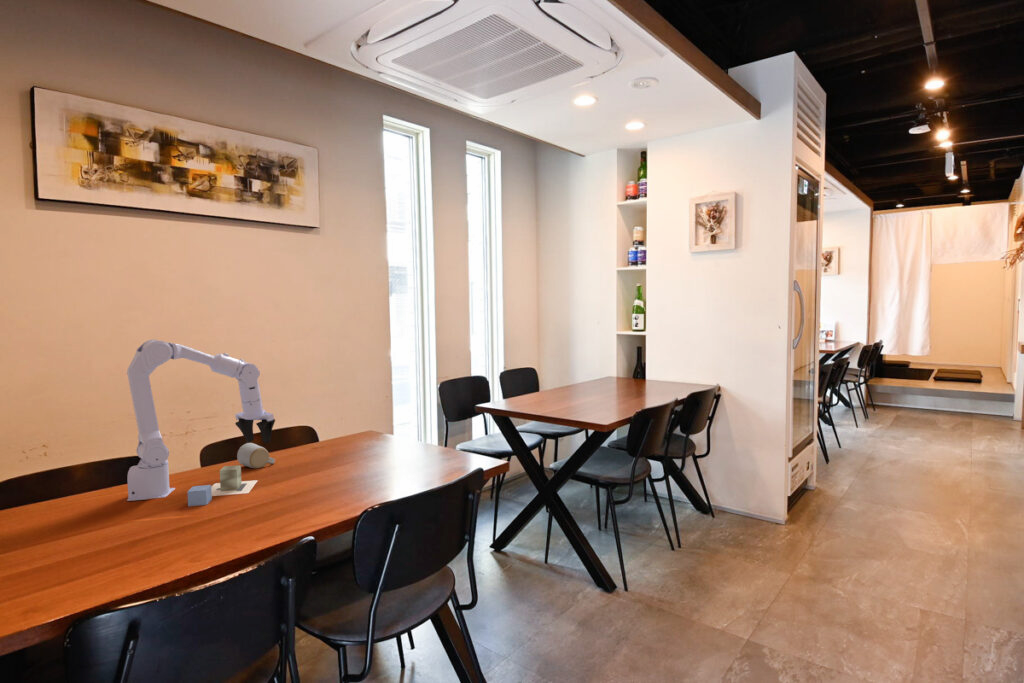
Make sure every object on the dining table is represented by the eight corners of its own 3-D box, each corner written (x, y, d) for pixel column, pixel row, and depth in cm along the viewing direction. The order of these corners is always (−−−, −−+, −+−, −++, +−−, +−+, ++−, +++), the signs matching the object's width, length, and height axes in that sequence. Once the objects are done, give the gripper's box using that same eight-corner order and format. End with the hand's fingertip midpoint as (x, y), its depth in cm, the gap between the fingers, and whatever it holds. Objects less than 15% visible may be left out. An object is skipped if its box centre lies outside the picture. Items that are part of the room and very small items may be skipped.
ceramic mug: (250, 471, 180) (249, 448, 180) (236, 467, 185) (236, 444, 184) (280, 464, 189) (279, 442, 188) (266, 460, 193) (266, 439, 193)
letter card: (202, 498, 156) (202, 496, 156) (215, 484, 167) (214, 483, 167) (248, 494, 158) (248, 493, 158) (257, 481, 170) (257, 480, 170)
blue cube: (188, 508, 148) (187, 491, 148) (193, 502, 153) (193, 486, 152) (206, 506, 149) (205, 490, 149) (211, 500, 154) (211, 484, 153)
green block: (220, 491, 160) (219, 470, 160) (225, 486, 164) (224, 466, 164) (237, 489, 161) (236, 469, 161) (241, 485, 165) (240, 465, 165)
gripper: (278, 397, 176) (285, 438, 178) (245, 396, 182) (252, 436, 184) (260, 403, 170) (267, 446, 172) (227, 402, 176) (234, 443, 178)
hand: (258, 441), depth 177 cm, fingers open, 7 cm apart
